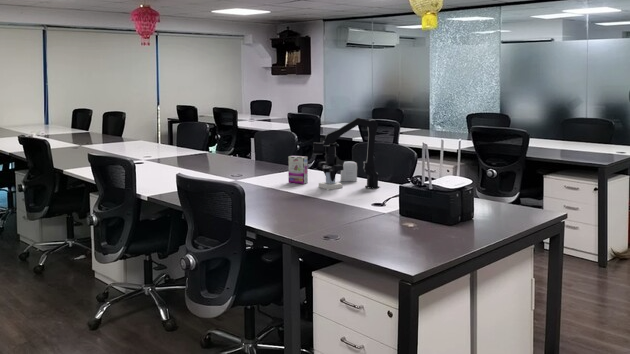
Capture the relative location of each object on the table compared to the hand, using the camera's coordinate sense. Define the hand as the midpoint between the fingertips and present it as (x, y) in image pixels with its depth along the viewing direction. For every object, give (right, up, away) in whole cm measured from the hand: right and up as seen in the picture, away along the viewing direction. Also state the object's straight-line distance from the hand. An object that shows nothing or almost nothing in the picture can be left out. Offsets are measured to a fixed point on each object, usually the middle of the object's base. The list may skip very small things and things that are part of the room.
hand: (330, 180), depth 343 cm
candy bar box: (-19, -2, +14) cm, 24 cm away
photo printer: (+12, -1, +21) cm, 24 cm away
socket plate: (0, -4, +1) cm, 4 cm away
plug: (0, -1, 0) cm, 1 cm away
